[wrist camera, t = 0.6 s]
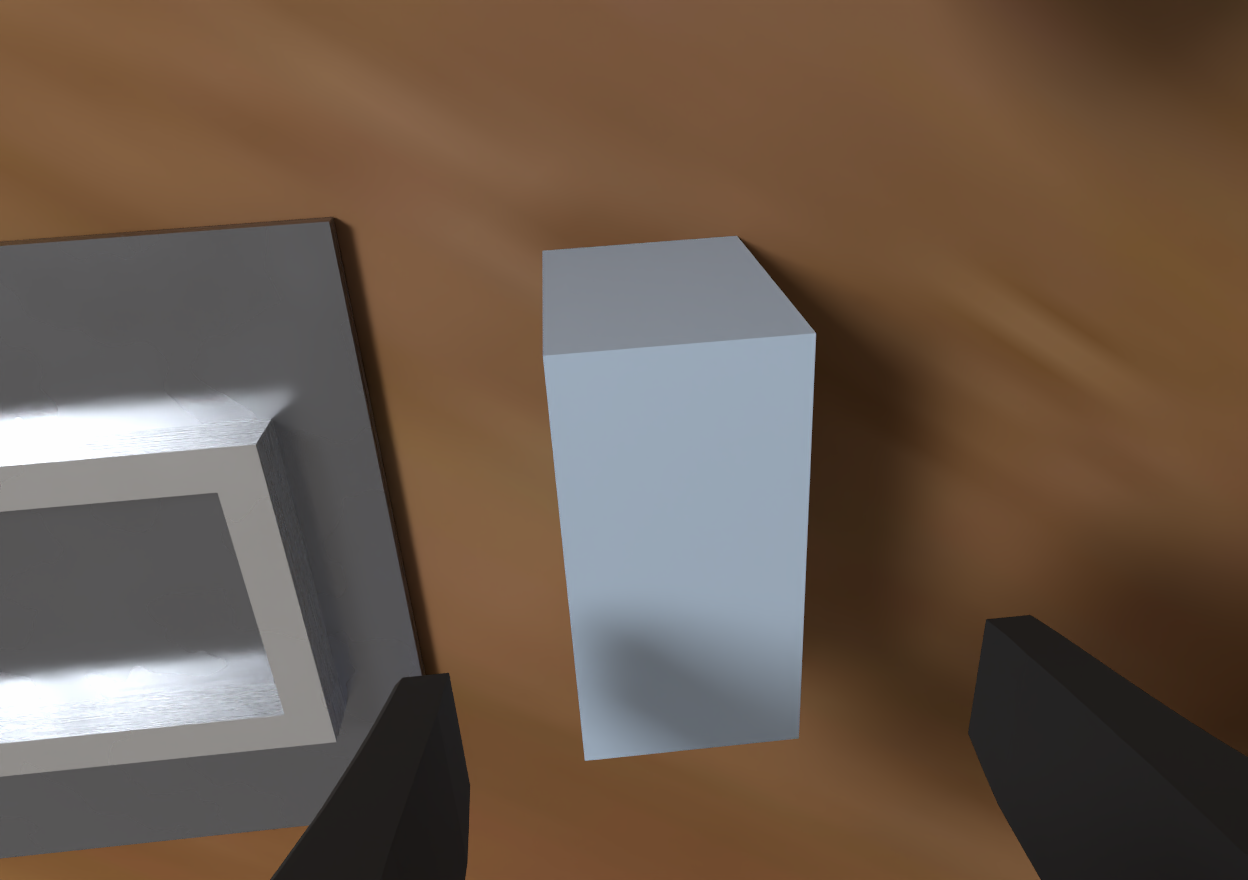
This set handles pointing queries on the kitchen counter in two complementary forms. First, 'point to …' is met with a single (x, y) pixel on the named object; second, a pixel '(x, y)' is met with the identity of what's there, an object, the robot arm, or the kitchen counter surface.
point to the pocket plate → (187, 536)
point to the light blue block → (680, 490)
